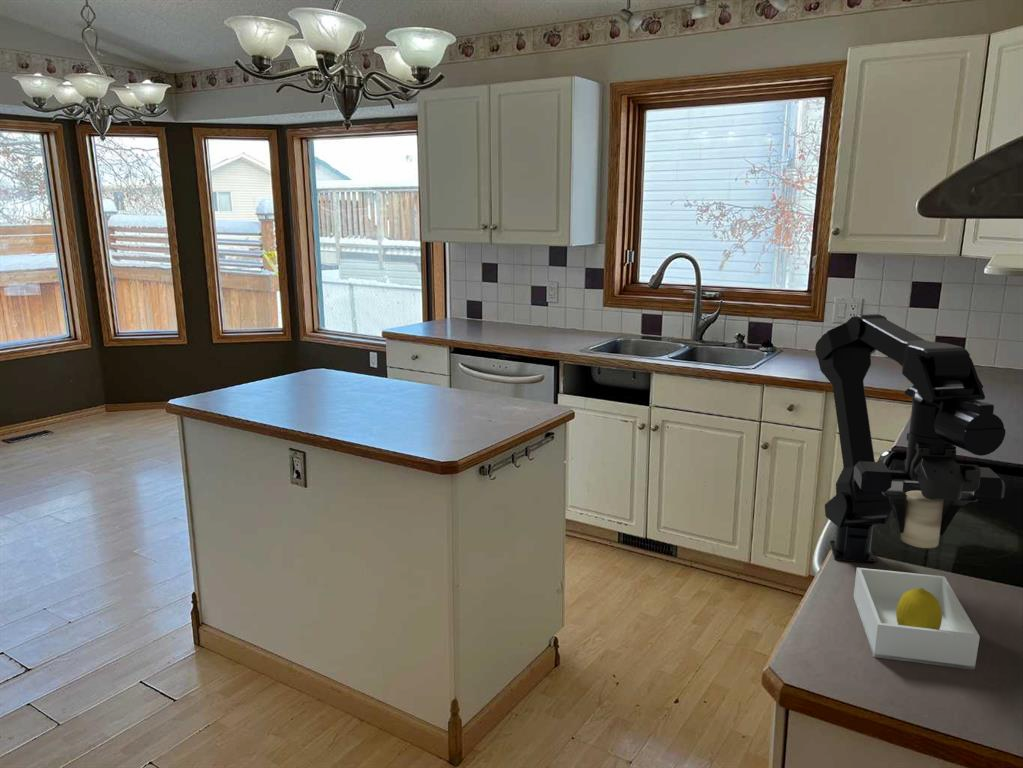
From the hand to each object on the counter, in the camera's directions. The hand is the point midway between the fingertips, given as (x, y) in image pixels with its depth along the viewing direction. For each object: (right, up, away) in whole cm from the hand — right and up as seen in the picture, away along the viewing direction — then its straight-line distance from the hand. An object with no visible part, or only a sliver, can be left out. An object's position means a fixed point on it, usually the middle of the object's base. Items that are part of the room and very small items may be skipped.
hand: (920, 533), depth 111 cm
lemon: (-4, -14, -7) cm, 16 cm away
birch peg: (0, -1, 0) cm, 1 cm away
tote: (-4, -13, -3) cm, 14 cm away
